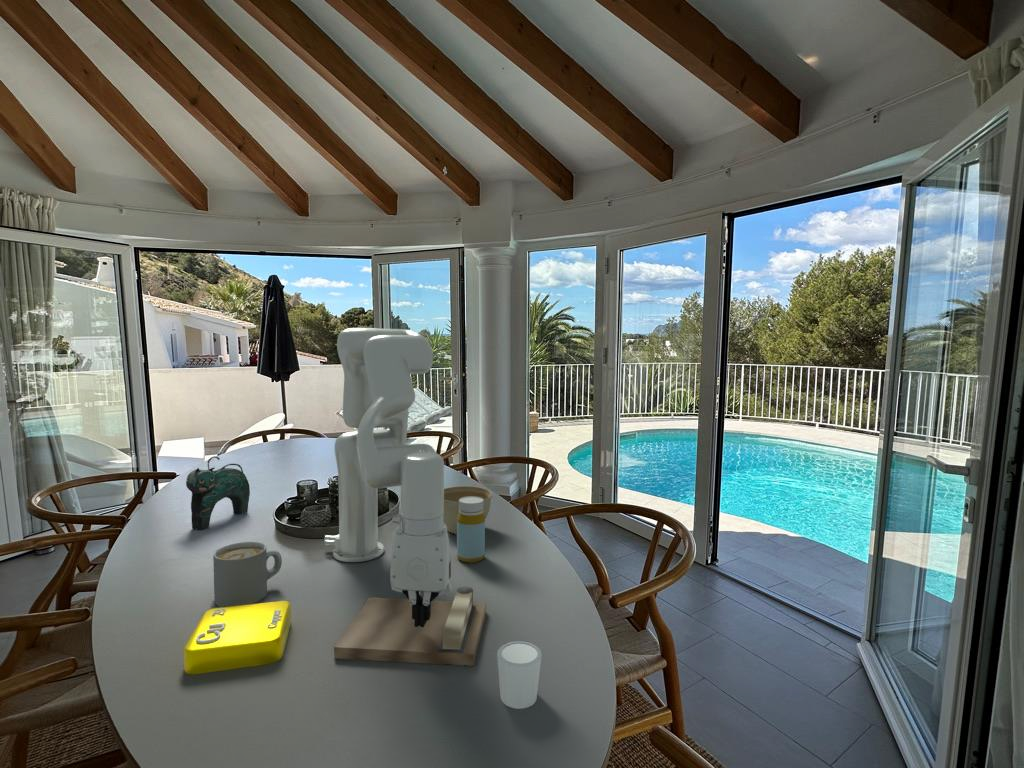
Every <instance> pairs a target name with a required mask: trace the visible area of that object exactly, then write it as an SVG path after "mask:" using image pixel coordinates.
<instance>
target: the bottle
mask: <svg viewBox="0 0 1024 768" xmlns="http://www.w3.org/2000/svg"><path fill="white" fill-rule="evenodd" d="M483 506H484V500H483V499H482V498H480V497H474V496H469V497H463V498H460V499H459V514H458V517H457V534H456V557H457V558H458V559H459V561H460V560H461V561H460V562H462V561H463V563H467V562H469V563H468V564H470V562H474V563H478V562H480V561H482V560H483V559H484V558H485V555H486V550H485V548H486V545H485V544H486V519H485V516H484V513H483Z"/></svg>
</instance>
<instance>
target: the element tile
mask: <svg viewBox="0 0 1024 768" xmlns="http://www.w3.org/2000/svg"><path fill="white" fill-rule="evenodd" d="M291 609H292V608H291V603H290V602H289V601H287V600H278V601H270V602H269V601H268V602H260V603H253V604H249V605H240V606H231V607H214V608H210V609H208V610H207V611H205V612H204V613H203V614H202V615H201V617H200V619H199V621H198V622H197V624H196V626H195V628H194V630H193V632H192V633H191V635H190V637H189V638H188V640H187V642H186V643H185V645H184V648H183V668H184V671H183V672H184V673H185V674H187V675H198V674H199V675H200V674H207V673H215V672H221V671H228V670H234V669H241V668H250V667H256V666H257V667H258V666H262V665H263V666H264V665H270V664H274V663H276V662H278V661H280V659H282V658H283V657H284V652H285V649H286V645H287V641H288V636H289V633H290V628H291V624H292V618H291V617H292V615H291V614H292V613H291V612H292V611H291Z"/></svg>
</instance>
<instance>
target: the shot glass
mask: <svg viewBox="0 0 1024 768" xmlns="http://www.w3.org/2000/svg"><path fill="white" fill-rule="evenodd" d="M542 654H543V653H542V651H541V649H540V648H539V646H537V645H535V644H534V643H531V642H527V641H519V640H518V641H517V640H516V641H509V642H508V643H505V644H503V645H501V646H500V647H499V648H498V649H497V653H496V659H497V672H498V681H499V682H498V685H499V696H500V699H501V702H502V703H503V704H504V705H505V706H507V707H509V708H512V709H517V710H518V709H520V710H522V709H528V708H529V707H531V706H534V704H535V703H536V702H537V699H538V698H537V697H538V692H539V691H538V689H539V682H540V681H539V680H540V672H541V665H542V664H541V663H542Z"/></svg>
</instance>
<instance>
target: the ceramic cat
mask: <svg viewBox="0 0 1024 768" xmlns="http://www.w3.org/2000/svg"><path fill="white" fill-rule="evenodd" d="M214 458H215V459H217V460H218V461H220V457H219V456H212V457H211V456H210V458H209V459H208V460H207V469H200V468H199V467H197V468H196V469H193V470H192V471H190V473H189V474H188V475H187V477H186V481H185V484H186V485H185V486H186V488H187V489H188V490H189V491H190V492H191V502H190V510H191V528H192V530H198V531H203V530H206V529H207V528H208V529H209V527H210V523H211V516H212V513H213V511H214V508H215V506H216V505H217V503H218V502H220V501H221V500H223V499H224V498H227V499H228V500H230V501H231V505H232V509H233V511H232V513H233V515H238V516H240V515H241V516H242V515H245V514H247V513H248V512H249V502H250V495H251V493H250V492H251V491H250V490H251V489H250V484H249V480H248V479H247V476H246V474H245V473H244V470H243V468H242V466H241V465H240V464H239V463H228V464H226V465H224V466H223V467H220V468H218V469H216V468H215V467H211V468H210V461H212V459H214ZM228 466H236V467H239V469H240V470H239V469H238V468H232V467H231V468H230V467H228ZM214 469H216V470H214Z"/></svg>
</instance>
